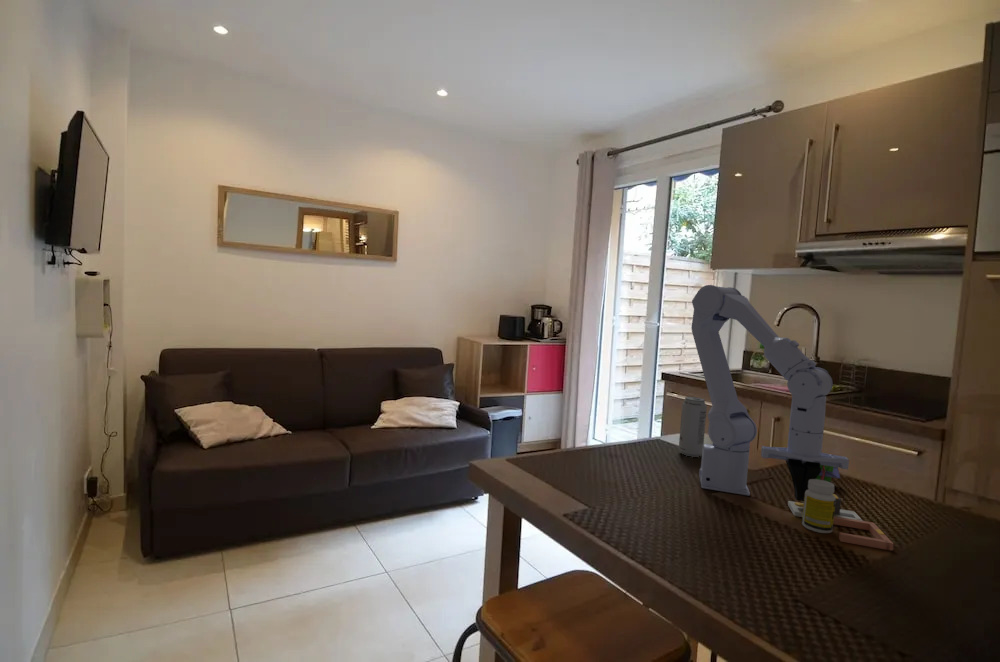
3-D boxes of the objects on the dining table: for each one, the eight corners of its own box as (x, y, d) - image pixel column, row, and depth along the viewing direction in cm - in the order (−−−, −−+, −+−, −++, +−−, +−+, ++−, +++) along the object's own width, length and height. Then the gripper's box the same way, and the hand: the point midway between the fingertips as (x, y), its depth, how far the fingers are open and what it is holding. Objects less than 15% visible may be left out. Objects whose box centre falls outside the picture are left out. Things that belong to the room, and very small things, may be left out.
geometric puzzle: (844, 484, 112) (842, 450, 116) (807, 478, 115) (807, 445, 119) (836, 495, 117) (835, 462, 121) (802, 489, 120) (802, 457, 124)
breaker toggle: (821, 511, 98) (822, 496, 97) (817, 505, 100) (818, 491, 100) (839, 514, 97) (841, 499, 97) (834, 508, 100) (836, 493, 99)
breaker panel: (794, 515, 98) (794, 510, 98) (787, 504, 103) (788, 499, 103) (865, 527, 94) (865, 522, 94) (854, 515, 100) (854, 510, 100)
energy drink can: (681, 450, 140) (686, 395, 139) (705, 454, 136) (709, 399, 136) (675, 454, 135) (680, 398, 134) (699, 459, 131) (704, 401, 131)
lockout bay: (840, 541, 88) (841, 533, 88) (825, 521, 96) (826, 514, 96) (892, 550, 85) (893, 543, 85) (873, 529, 94) (873, 522, 94)
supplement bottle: (837, 535, 90) (842, 488, 89) (807, 531, 91) (812, 485, 90) (825, 524, 95) (830, 479, 94) (797, 520, 95) (802, 476, 95)
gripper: (767, 429, 98) (761, 499, 99) (856, 440, 93) (849, 513, 94) (761, 422, 105) (756, 487, 105) (844, 431, 100) (838, 500, 101)
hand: (799, 499), depth 100 cm, fingers closed
